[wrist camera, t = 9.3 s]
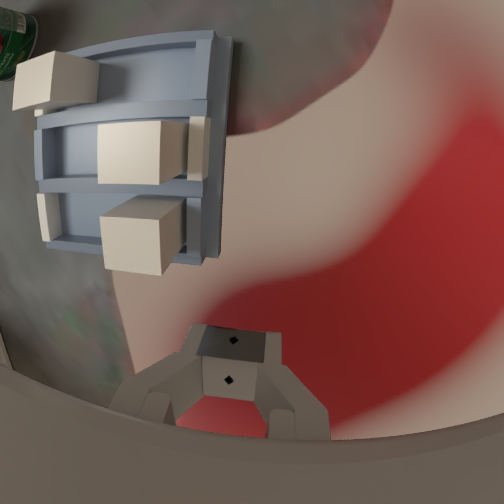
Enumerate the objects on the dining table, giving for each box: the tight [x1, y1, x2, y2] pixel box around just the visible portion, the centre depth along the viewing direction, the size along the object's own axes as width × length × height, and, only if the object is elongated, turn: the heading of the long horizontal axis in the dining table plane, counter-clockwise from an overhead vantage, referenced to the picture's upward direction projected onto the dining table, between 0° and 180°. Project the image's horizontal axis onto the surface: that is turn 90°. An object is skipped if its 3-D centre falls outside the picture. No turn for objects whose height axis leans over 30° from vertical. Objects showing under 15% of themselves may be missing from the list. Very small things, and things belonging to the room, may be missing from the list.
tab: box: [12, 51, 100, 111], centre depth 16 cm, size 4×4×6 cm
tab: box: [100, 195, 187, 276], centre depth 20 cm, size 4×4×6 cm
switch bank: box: [34, 30, 234, 266], centre depth 20 cm, size 17×17×3 cm
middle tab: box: [97, 121, 190, 185], centre depth 18 cm, size 4×4×6 cm
